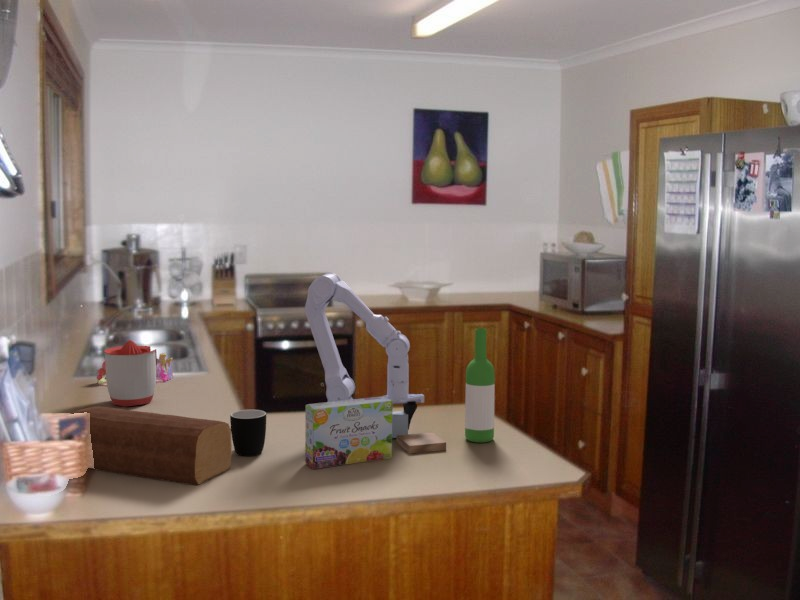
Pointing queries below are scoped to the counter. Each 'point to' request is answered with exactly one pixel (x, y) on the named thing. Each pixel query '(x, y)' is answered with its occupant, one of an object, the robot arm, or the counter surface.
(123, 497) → the counter surface
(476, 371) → the wine bottle
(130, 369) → the citrus juicer
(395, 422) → the block
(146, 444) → the bread
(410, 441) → the base board
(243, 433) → the mug
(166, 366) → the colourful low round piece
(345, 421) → the snack box
